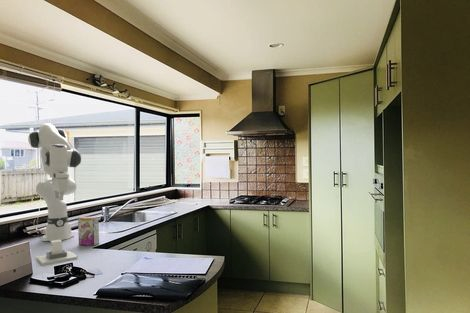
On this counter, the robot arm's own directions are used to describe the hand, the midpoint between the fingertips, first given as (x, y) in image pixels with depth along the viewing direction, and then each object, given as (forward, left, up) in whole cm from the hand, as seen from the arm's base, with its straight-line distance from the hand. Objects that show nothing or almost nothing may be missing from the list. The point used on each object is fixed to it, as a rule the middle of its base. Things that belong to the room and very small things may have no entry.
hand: (59, 199), depth 191 cm
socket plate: (+9, -4, -30) cm, 31 cm away
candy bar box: (-12, +18, -30) cm, 37 cm away
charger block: (+9, -4, -29) cm, 30 cm away
